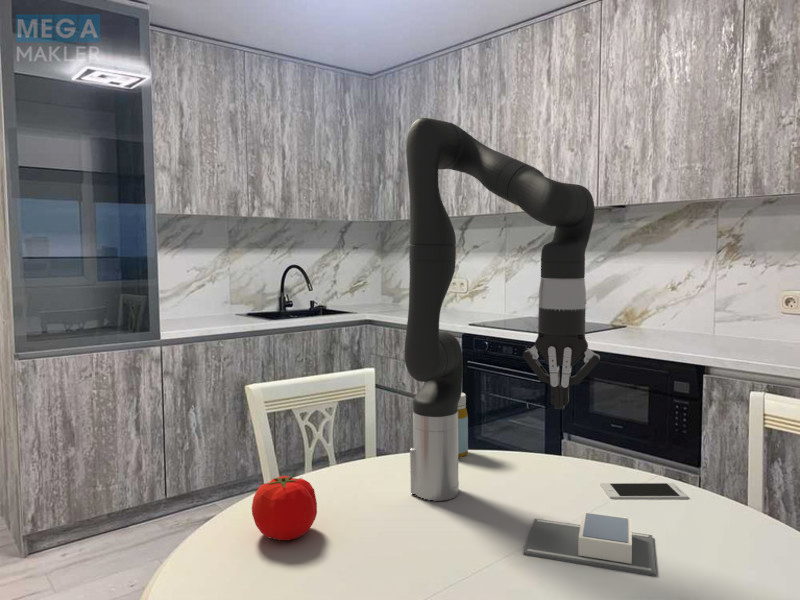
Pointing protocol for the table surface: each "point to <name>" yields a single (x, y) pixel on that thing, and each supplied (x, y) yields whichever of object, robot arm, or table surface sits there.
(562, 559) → the mat
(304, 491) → the tomato
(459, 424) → the bottle
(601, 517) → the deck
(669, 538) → the table surface
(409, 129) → the robot arm
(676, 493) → the smartphone
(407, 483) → the table surface
